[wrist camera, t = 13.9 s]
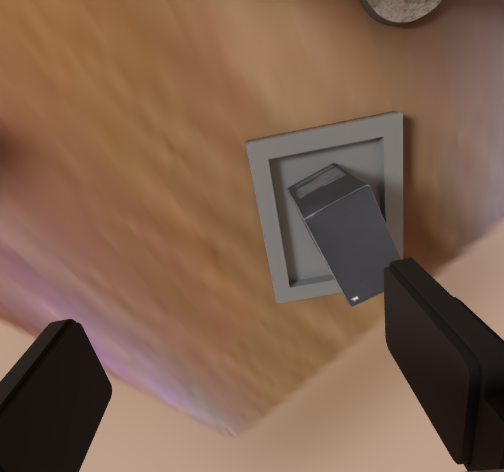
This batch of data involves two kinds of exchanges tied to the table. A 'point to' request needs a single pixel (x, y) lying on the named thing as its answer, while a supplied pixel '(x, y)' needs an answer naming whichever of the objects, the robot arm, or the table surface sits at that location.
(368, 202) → the small box
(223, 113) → the table surface
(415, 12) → the figurine
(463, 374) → the robot arm
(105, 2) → the table surface
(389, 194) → the tray
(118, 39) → the table surface
